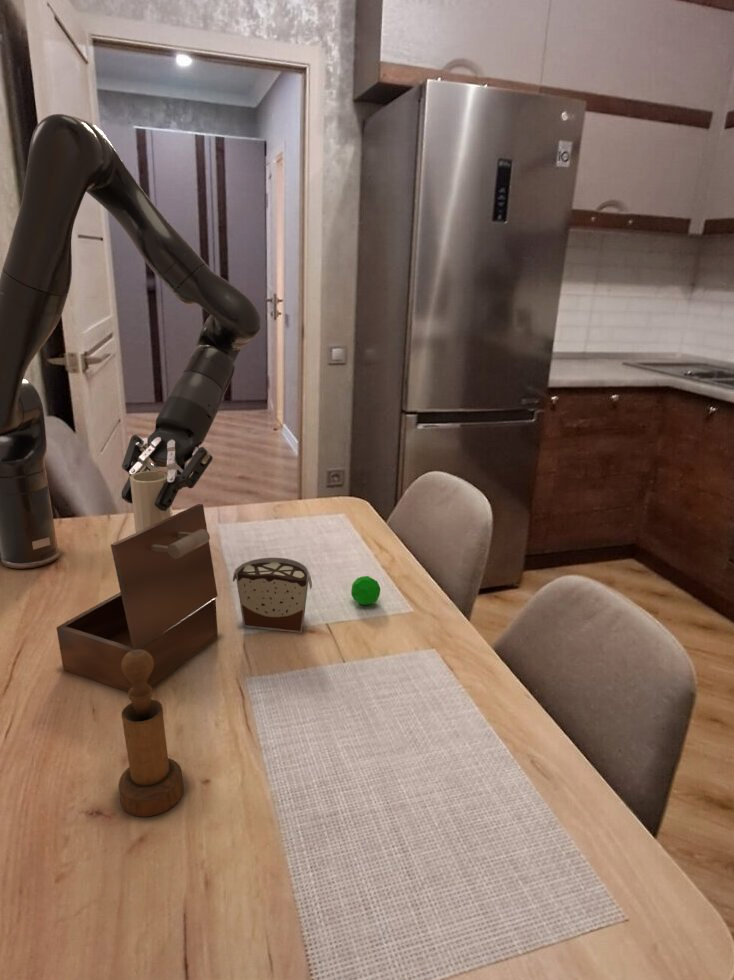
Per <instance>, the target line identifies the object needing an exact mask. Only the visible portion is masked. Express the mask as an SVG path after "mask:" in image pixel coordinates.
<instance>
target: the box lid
mask: <svg viewBox="0 0 734 980" xmlns="http://www.w3.org/2000/svg"><path fill="white" fill-rule="evenodd" d="M210 535H211V534H210V533H209V532H208V526H207V520H206V515H205V509H204V504H203V503H198V504H195V505H193V506H191V507H189V508H187V509H185V510H182V511H180V512H177V513H176V514H173V516H171V517H169V518H167V519H165V520H163V521H161V522H158V523H156V524H154V525H152V526H150V527H148V528H145V529H143V530H141V531H139V532H137V533H136V532H135V533H133V534H130V535H128V536H125V537H124V538H122V539H120V540H117V541H116V542H113V543H111V544H110V549H111V554H112V559H113V563H114V567H115V572H116V578H117V582H118V587H119V590H120V592H121V596H122V601H123V605H124V610H125V615H126V619H127V624H128V629H129V633H130V638H131V643H132V647H133V649H135V650H138V649H140V648H141V647H143V646H144V645H146V644H147V643H149V642H150V641H152V640H153V639H155V638H156V637H158V636H159V635H161V634H162V633H164V632H165V631H167V630H168V629H170V628H171V627H172V626H174V625H175V624H177V623H178V622H180V621H181V620H183V619H184V618H186V617H187V616H189V615H190V614H192V613H193V612H195V611H196V610H198V609H199V608H201V607H202V606H204V605H205V604H207V603H208V602H210V601H211V600H213V599H214V598H215V599H216V598H217V597H218V590H217V583H216V576H215V571H214V565H213V557H212V552H211V545H210V539H211V536H210Z"/></svg>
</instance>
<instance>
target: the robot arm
mask: <svg viewBox="0 0 734 980" xmlns="http://www.w3.org/2000/svg"><path fill="white" fill-rule="evenodd" d="M26 164H27V165H26V171H25V179H24V184H23V185H24V186H23V192H22V198H21V203H20V207H19V211H18V215H17V218H16V221H15V224H14V228H13V231H12V235H11V238H10V242H9V246H8V250H7V253H6V256H5V260H4V262H3V266H2V269H1V273H0V561H1V563H2V565H3V566H5V567H7V568H11V569H16V570H17V569H19V570H20V569H21V570H23V569H25V570H26V569H33V568H34V569H35V568H39V567H43V566H46V565H49V564H51V563H53V562H55V561H56V560H58V558H59V557H60V549H59V546H58V540H57V533H56V528H55V527H56V526H55V521H54V514H53V509H52V508H53V507H52V501H51V493H50V489H49V488H50V487H49V482H48V477H47V470H46V469H47V468H46V463H45V458H46V454H47V449H48V441H47V440H48V439H47V431H46V419H45V412H44V406H43V402H42V399H41V396H40V393H39V392H38V390H37V389H36V387H35V386H34V385H33V383H32V382H30V380H28V379H26V378H25V375H26V374H27V373H26V372H27V371H28V368H29V367H30V364H31V362H32V361H33V359H34V358H35V357H36V356H37V354H38V353H39V351H40V350H41V349H42V348H43V346H44V345H45V343H46V342H47V341H48V339H50V337H51V335H52V334H53V332H54V331H55V330H56V327H57V326H58V324H59V322H60V320H61V317H62V315H63V311H64V309H65V306H66V302H67V299H68V296H69V293H70V288H71V284H72V278H73V277H72V275H73V254H72V239H73V229H74V226H75V221H76V219H77V216H78V213H79V210H80V207H81V205H82V203H83V199H84V197H85V195H86V193H87V194H88V195H89V196H90V197H92V198H93V199H94V200H95V201H97V202H98V204H100V205H101V206H102V207H103V208H104V209H105V210H106V211H107V212H108V213H109V214H110V215H111V216H112V217H113V218H114V219H115V220H116V222H117V223H118V224H119V225H120V226H121V228H122V229H123V231H124V232H125V233H126V234H127V236H128V237H129V239H130V240H131V242H132V244H133V245H134V247H135V248H136V250H137V252H138V253H139V255H140V256H141V258H142V259H143V260H144V262H145V263H146V265H147V266H148V267H149V268H150V270H151V271H152V272H153V273H154V274H155V276H157V277H158V279H159V280H160V281H161V282H162V283H163V284H164V285H165V286H166V287H167V288H168V289H169V290H170V292H171V293H172V294H173V295H174V296H175V297H176V298H177V299H178V300H179V301H180V302H181V303H182V304H184V305H186V306H194V305H197V306H200V308H202V309H203V310H204V311H206V312H207V313H208V314H209V316H208V317H207V319H206V320H205V322H204V324H203V326H202V328H201V331H200V333H199V336H198V338H197V341H196V344H195V348H194V351H193V352H192V353H191V355H190V357H189V358H188V360H187V362H186V364H185V367H184V368H183V371H182V372H181V374H180V376H179V377H178V379H177V380H176V381H175V382H174V384H173V386H172V387H171V389H170V391H169V393H168V395H167V397H166V399H165V401H164V403H163V405H162V406H161V409H160V411H159V413H158V415H157V417H156V419H155V429H154V431H153V432H152V433H151V434H150V435H149V436H148V437H140V436H139V435H137V434H133V435H132V436H131V437H130V439H129V443H128V445H127V448H126V451H125V455H124V458H123V461H122V463H121V468H122V470H123V471H125V472H126V473H127V474H128V478H127V480H126V482H125V484H124V486H123V488H122V489H121V498H122V500H124V501H125V502H126V503H128V504H131V505H133V503H132V494H131V484H130V476H131V475H132V474H135V473H138V472H143V471H160V469H161V468H167V473H168V477H167V481H168V483H164V485H163V487H162V489H161V491H160V493H159V495H158V497H157V499H156V501H155V506H156V507H157V508H158V509H160V510H162V511H166V510H167V509H168V508H169V507H170V506H171V505H172V506H173V503H174V501H175V499H176V496H177V495H178V493H179V491H181V490H182V489H183V488H188V489H193V488H195V486H196V484H197V483H198V481H200V479H201V477H202V476H203V474H204V473H205V472H206V470H207V468H208V467H209V465H210V464H211V462H212V461H213V458H214V457H213V456H212V455H211V453H210V452H209V451H208V450H207V449H206V448H205V447H203V446H202V445H203V443H204V441H205V439H206V438H207V435H208V433H209V431H210V429H211V427H212V425H213V423H214V420H215V418H216V417H217V414H218V412H219V410H220V407H221V405H222V401H223V398H224V396H225V394H226V392H227V390H228V388H229V385H230V383H231V382H232V378H233V377H234V373H235V369H236V367H235V362H236V360H237V358H238V355H239V354H240V352H241V350H242V348H243V347H244V346H245V345H247V344H248V343H249V342H250V341H251V340H252V339H254V338H255V337H256V336H257V335H258V333H259V331H260V329H261V323H262V322H261V317H260V314H259V311H258V309H257V308H256V305H254V303H253V301H251V300H250V298H249V297H248V296H247V295H246V294H244V293H243V292H242V291H241V290H240V289H238V288H237V287H235V286H234V285H232V284H231V283H230V282H229V281H228V280H226V279H224V278H223V277H222V276H220V275H219V274H217V273H216V272H214V271H213V270H212V269H211V268H210V266H209V265H208V264H207V262H205V261H204V259H203V258H202V257H201V256H200V255H199V254H198V253H197V251H196V250H195V249H194V248H193V247H192V246H191V244H189V242H188V241H186V239H185V238H184V237H183V236H182V235H181V234H180V233H179V232H178V230H177V229H176V228H175V227H174V225H172V224H171V222H169V221H168V219H167V218H166V217H165V216H164V214H163V213H162V212H161V210H159V209H158V208H157V206H156V204H154V203H153V201H152V200H151V199H150V198H149V196H148V195H147V194H146V193H145V192H144V191H145V190H143V189H142V187H141V186H140V185H139V183H138V182H137V181H136V179H135V178H134V176H133V175H132V174H131V172H130V170H129V169H128V167H127V166H126V164H125V162H124V161H123V160H122V158H121V156H120V155H119V154H118V152H117V151H116V149H115V148H114V146H113V145H112V143H111V142H110V140H109V139H108V137H107V136H106V134H104V132H103V131H102V130H101V129H100V128H99V127H98V126H96V125H95V124H93V123H92V122H90V121H88V120H85V119H82V118H79V117H76V116H72V115H68V114H64V113H55V114H51V115H48V116H45V117H44V118H43V119H41V120H40V122H39V123H37V124H36V126H35V128H34V130H33V131H32V136H31V139H30V143H29V150H28V155H27V163H26ZM149 459H150V461H152V463H151V462H150V461H149Z"/></svg>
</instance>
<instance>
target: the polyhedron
mask: <svg viewBox="0 0 734 980" xmlns="http://www.w3.org/2000/svg"><path fill="white" fill-rule="evenodd" d="M350 592H351V593H350V594H351V597H352V599H353V601H355V602H357V603H359V604H360V605H362V606H368V605H372V604H375V602H377V601H378V599H379V598H380V595H381V586H380V584H379V582H378V581H377V580H376V579H374V578H373V577H370V576H369V575H365V576H360V577H358V578H356V579H355V580H354V581H353V582H352V584H351V590H350Z"/></svg>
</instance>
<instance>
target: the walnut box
mask: <svg viewBox="0 0 734 980" xmlns="http://www.w3.org/2000/svg"><path fill="white" fill-rule="evenodd" d="M217 615H218V614H217V600H216V598H214V599H213V600H211V601H210V602H208V603H207V604H205V605H204V606H202V607H201V608H199V609H198V610H196V611H195V612H193V613H192V614H190V615H189V616H187V617H186V618H184V619H183V620H181V621H180V622H178V623H177V624H175V625H174V626H172V627H171V628H170V629H168V630H167V631H165V632H164V633H162V634H161V635H159V636H158V637H156V638H155V639H153V640H152V641H150V642H149V643H147V644H146V645H144V646H143V647H141V648H140V649H138V650H145V651H147V652H148V653H149V654H150V655H151V656H152V658H153V661H154V667H153V670H152V672H151V674H150V676H149V678H148V679H147V684H148V685H149V686H151V687H152V688H154V687H155V686H156V685H157V684H159V683H160V682H162V681H163V680H164V679H165V678H167V677H168V676H169V675H171V674H172V673H173V672H174V671H176V670H177V669H178V668H180V667H181V666H183V665H184V664H185V663H187V662H188V661H189V660H191V659H192V658H193V657H194V656H196V655H197V654H198V653H200V652H201V651H202V650H203V649H205V648H206V647H208V646H209V645H210V644H211V643H213V642H214V641H216V640H217V639H218V638H219V631H218V617H217ZM56 632H57V639H58V645H59V651H60V658H61V663H62V669H63V670H64V671H67V672H69V673H72V674H75V675H78V676H80V677H84V678H86V679H89V680H92V681H95V682H98V683H101V684H104V685H107V686H110V687H112V688H115V689H118V690H121V691H124V692H127V693H128V692H129V690H130V689H131V688H132V683H131V682H130V681H129V680H128V679H127V678H126V677H125V675H124V674H123V672H122V669H121V663H122V660H123V658H124V656H125V655H126V654H127V653H128V652H130V651H133V650H135V649H133V647H132V643H131V638H130V633H129V629H128V624H127V619H126V615H125V610H124V605H123V601H122V596H121V591H120V592H118V593H116V594H114V595H112V596H110V597H109V598H107V599H105V600H103V601H101V602H100V603H98V604H96V605H94V606H92V607H91V608H89V609H86V610H85V611H83V612H82V613H80V614H78V615H76V616H74V617H72V618H71V619H69V620H67V621H65V622H63V623H62V624H60V625H57V626H56Z"/></svg>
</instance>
